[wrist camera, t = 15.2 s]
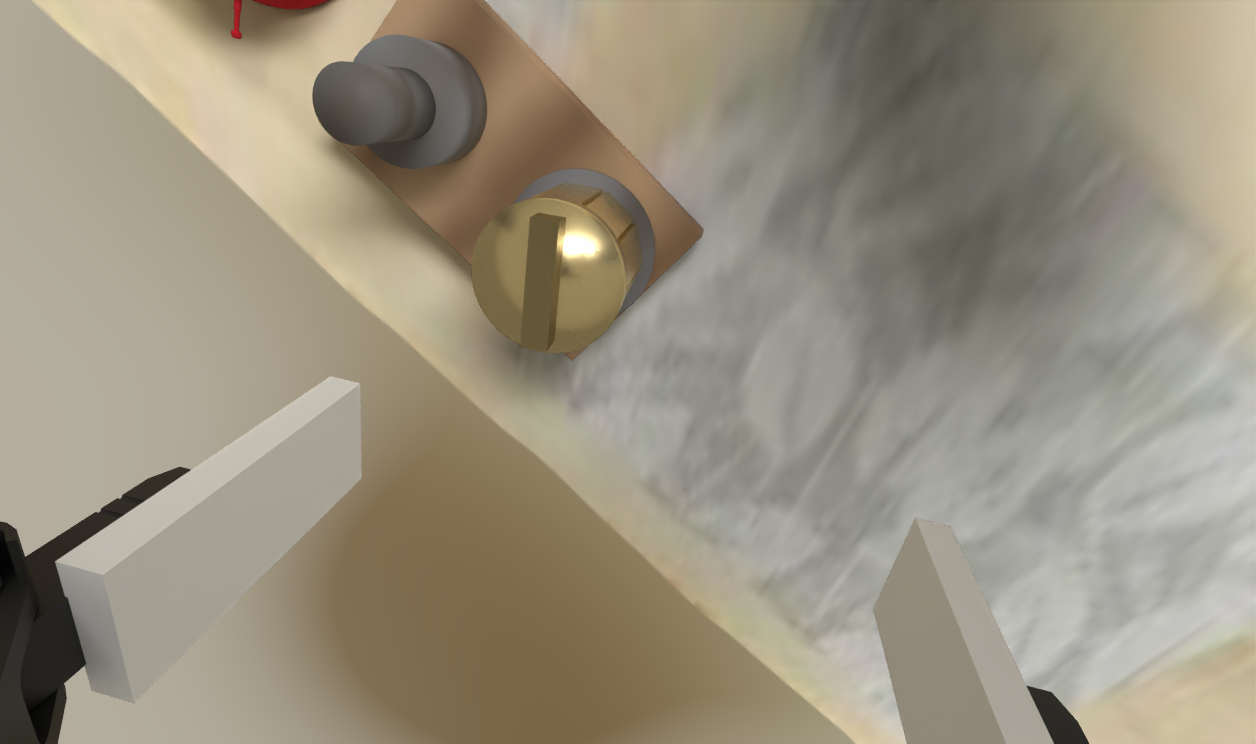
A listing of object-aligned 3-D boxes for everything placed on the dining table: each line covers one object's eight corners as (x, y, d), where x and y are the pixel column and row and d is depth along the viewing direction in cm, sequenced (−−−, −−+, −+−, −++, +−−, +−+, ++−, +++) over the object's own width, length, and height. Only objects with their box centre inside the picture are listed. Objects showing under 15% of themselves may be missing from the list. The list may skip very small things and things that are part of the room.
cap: (518, 171, 31) (462, 189, 25) (652, 194, 31) (631, 219, 24) (510, 302, 34) (457, 348, 28) (632, 325, 34) (608, 378, 27)
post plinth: (341, 120, 34) (207, 126, 26) (446, -40, 30) (332, -96, 22) (580, 347, 37) (534, 421, 29) (703, 229, 33) (692, 272, 25)
